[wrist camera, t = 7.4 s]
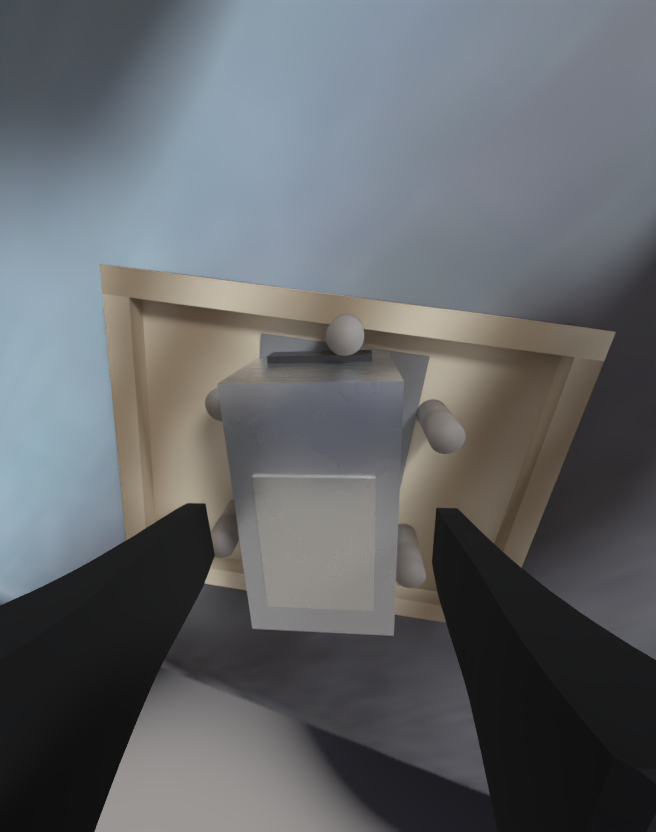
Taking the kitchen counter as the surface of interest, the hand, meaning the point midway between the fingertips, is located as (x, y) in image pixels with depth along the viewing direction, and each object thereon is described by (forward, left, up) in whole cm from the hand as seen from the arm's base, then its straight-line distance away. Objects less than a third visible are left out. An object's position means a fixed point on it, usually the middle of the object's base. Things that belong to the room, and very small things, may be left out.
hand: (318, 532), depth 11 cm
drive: (0, 0, -5) cm, 5 cm away
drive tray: (0, 0, -6) cm, 6 cm away
